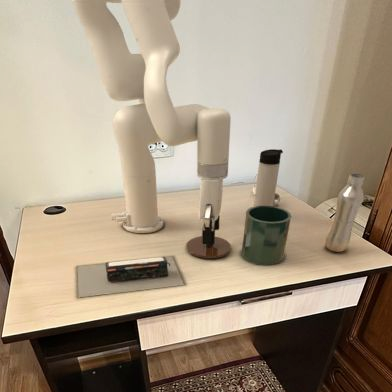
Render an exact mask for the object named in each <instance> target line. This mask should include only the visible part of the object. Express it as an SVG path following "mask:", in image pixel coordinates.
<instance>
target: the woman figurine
mask: <svg viewBox="0 0 392 392" xmlns="http://www.w3.org/2000/svg"><path fill="white" fill-rule="evenodd" d="M255 191H256V185H254V186H253V188H252V194H250V195H249V196H248V197H249V198H252V197H253V196H255ZM280 202H281V197H280V195H279V192H275V197H274V203H273V206H274V207H277V206H278V205H279V204H280Z"/></svg>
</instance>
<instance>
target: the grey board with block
mask: <svg viewBox="0 0 392 392" xmlns="http://www.w3.org/2000/svg"><path fill="white" fill-rule="evenodd" d="M184 285H185V284H184V282H183V279H182V277H181V275H180V272H179V270H178V267H177V265H176V263H175V260H174V258H173V256H169V257H166V256H156V257H154V256H153V257H144V258H136V259H126V260H115V261H108V262H105V263H101V264H91V265H83V266H82V265H81V266H77V289H78V290H77V292H78V293H77V294H78V298H86V297H93V296H101V295H110V294H111V295H112V294H119V293H128V292H135V291H136V292H137V291H145V290H151V289H161V288H162V289H163V288H168V287H169V288H170V287H178V286H184Z"/></svg>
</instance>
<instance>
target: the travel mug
mask: <svg viewBox="0 0 392 392" xmlns="http://www.w3.org/2000/svg"><path fill="white" fill-rule="evenodd" d="M283 153H284V151H283V149H280V148H279V149H275V148H274V149H273V148H271V149H265V150H262V151H260V153H259V154H260V155H259V161H258V168H257V174H256V175H257V177H256V183H255V186H256V191H255V195H254V200H253V207H255V206H273V203H274V197H275V193H276V190H277V183H278V179H279V178H278V177H279V171H280V165H281V156H282V154H283Z"/></svg>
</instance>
